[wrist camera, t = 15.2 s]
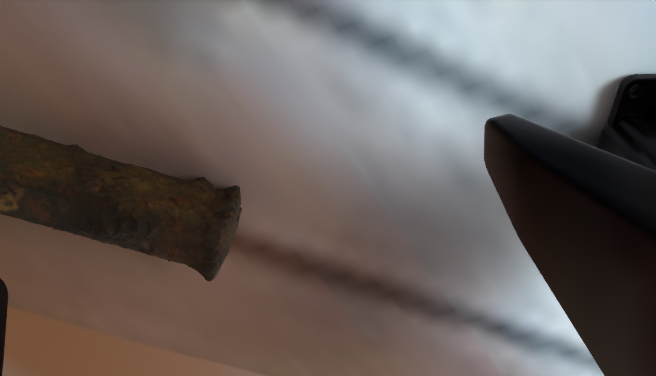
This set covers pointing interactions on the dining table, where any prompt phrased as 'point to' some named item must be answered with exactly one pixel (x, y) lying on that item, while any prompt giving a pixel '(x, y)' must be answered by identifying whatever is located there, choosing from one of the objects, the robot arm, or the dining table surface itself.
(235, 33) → the dining table surface
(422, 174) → the dining table surface
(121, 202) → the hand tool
